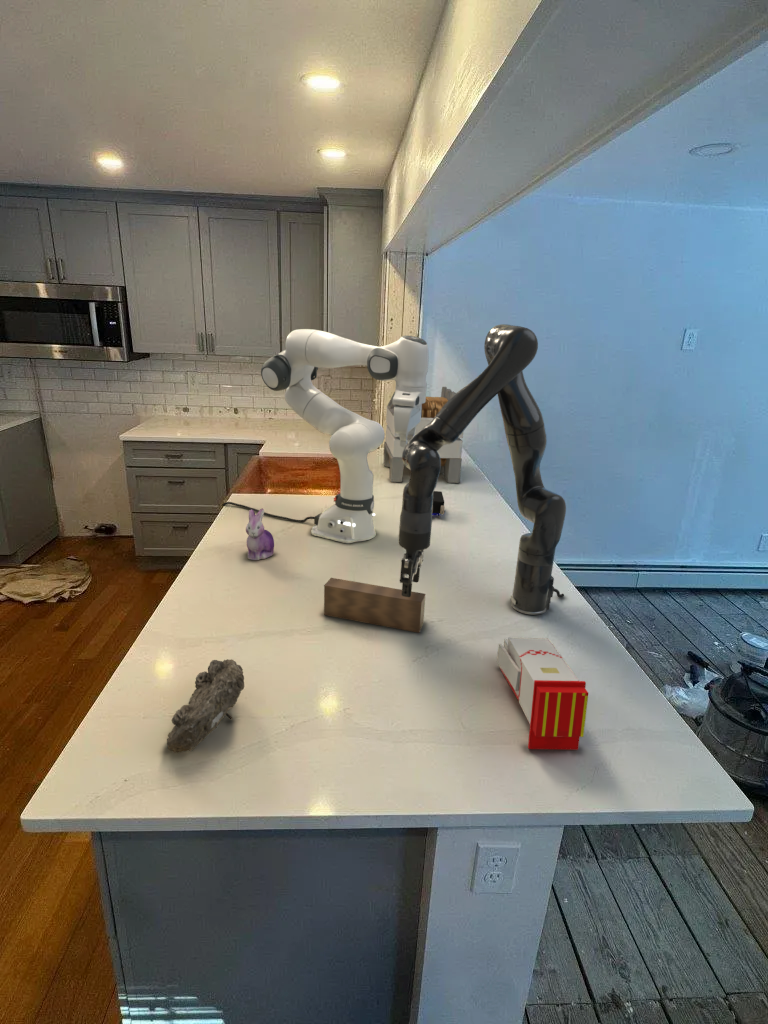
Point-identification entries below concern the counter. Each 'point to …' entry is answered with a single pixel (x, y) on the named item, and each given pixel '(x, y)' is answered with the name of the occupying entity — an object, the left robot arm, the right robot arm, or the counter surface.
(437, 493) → the figurine character
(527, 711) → the toy
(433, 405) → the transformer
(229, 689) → the fossil
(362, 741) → the counter surface
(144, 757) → the counter surface
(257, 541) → the figurine
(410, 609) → the bar
